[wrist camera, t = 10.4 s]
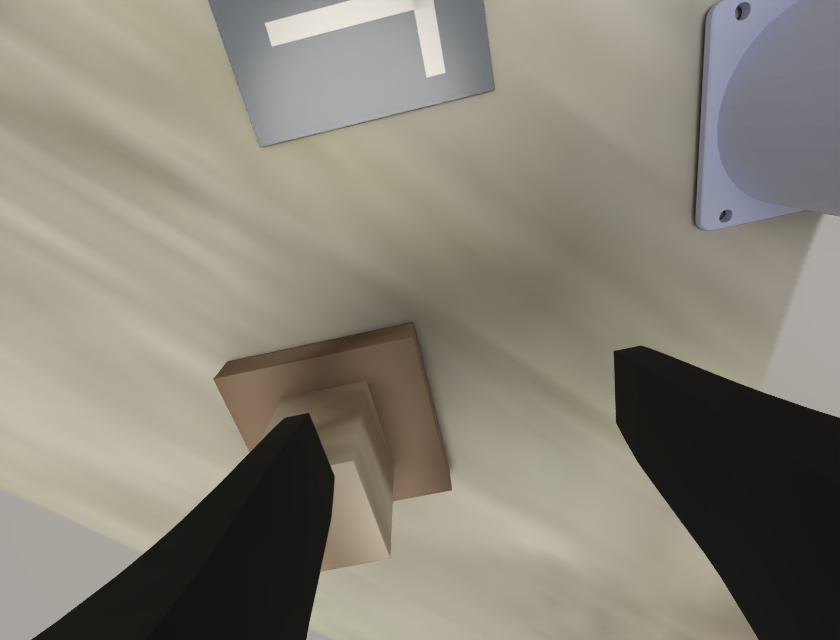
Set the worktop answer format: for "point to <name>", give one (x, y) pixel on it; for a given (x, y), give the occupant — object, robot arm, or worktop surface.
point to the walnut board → (341, 365)
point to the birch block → (351, 471)
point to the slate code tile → (350, 59)
